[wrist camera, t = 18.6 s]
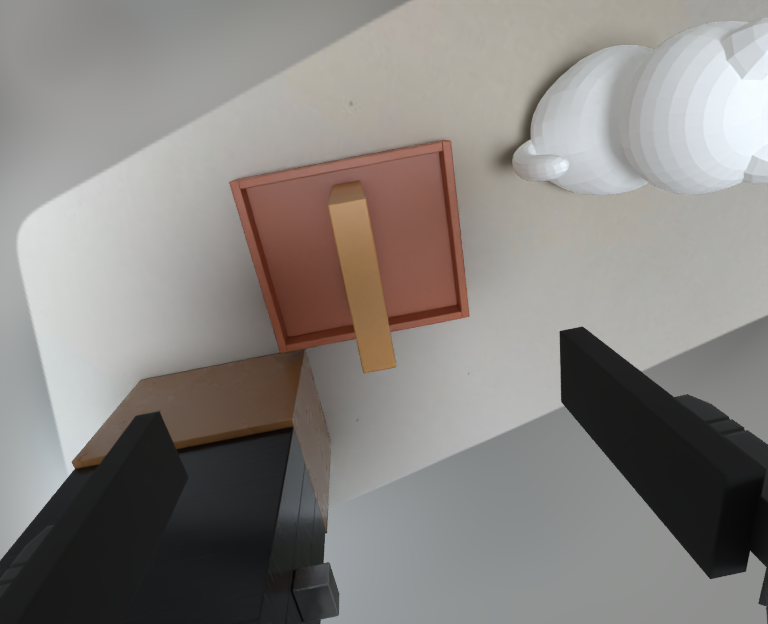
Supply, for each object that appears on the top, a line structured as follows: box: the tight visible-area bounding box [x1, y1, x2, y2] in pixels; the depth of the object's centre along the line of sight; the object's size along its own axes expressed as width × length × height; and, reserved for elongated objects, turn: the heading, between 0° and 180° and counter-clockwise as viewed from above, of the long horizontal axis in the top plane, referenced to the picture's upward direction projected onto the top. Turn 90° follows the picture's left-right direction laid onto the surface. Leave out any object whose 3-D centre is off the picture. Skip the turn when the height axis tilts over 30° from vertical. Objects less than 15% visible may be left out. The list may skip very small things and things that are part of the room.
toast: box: [328, 180, 396, 373], centre depth 29 cm, size 10×2×10 cm, turn 9°
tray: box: [229, 140, 469, 353], centre depth 33 cm, size 15×13×2 cm
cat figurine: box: [512, 17, 768, 195], centre depth 25 cm, size 9×12×15 cm
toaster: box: [0, 349, 339, 624], centre depth 28 cm, size 16×10×22 cm, turn 100°
